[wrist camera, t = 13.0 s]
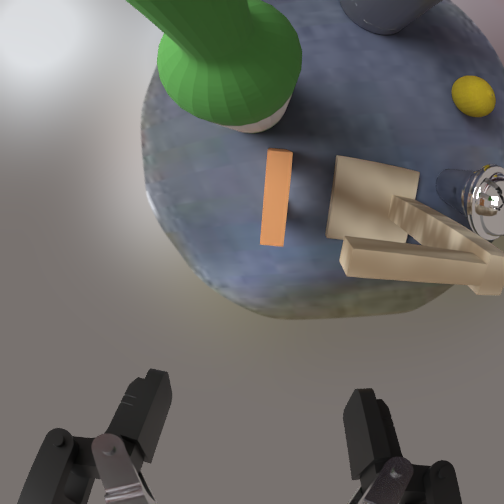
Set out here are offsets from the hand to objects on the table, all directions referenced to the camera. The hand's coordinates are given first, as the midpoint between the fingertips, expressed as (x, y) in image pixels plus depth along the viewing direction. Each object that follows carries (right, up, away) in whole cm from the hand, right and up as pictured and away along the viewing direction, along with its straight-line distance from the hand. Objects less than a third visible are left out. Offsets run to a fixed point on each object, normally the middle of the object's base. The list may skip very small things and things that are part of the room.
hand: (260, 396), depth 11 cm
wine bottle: (0, +23, +18) cm, 30 cm away
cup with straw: (+26, +15, +20) cm, 36 cm away
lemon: (+27, +27, +15) cm, 41 cm away
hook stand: (+13, +12, +22) cm, 28 cm away
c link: (+2, +14, +22) cm, 26 cm away
